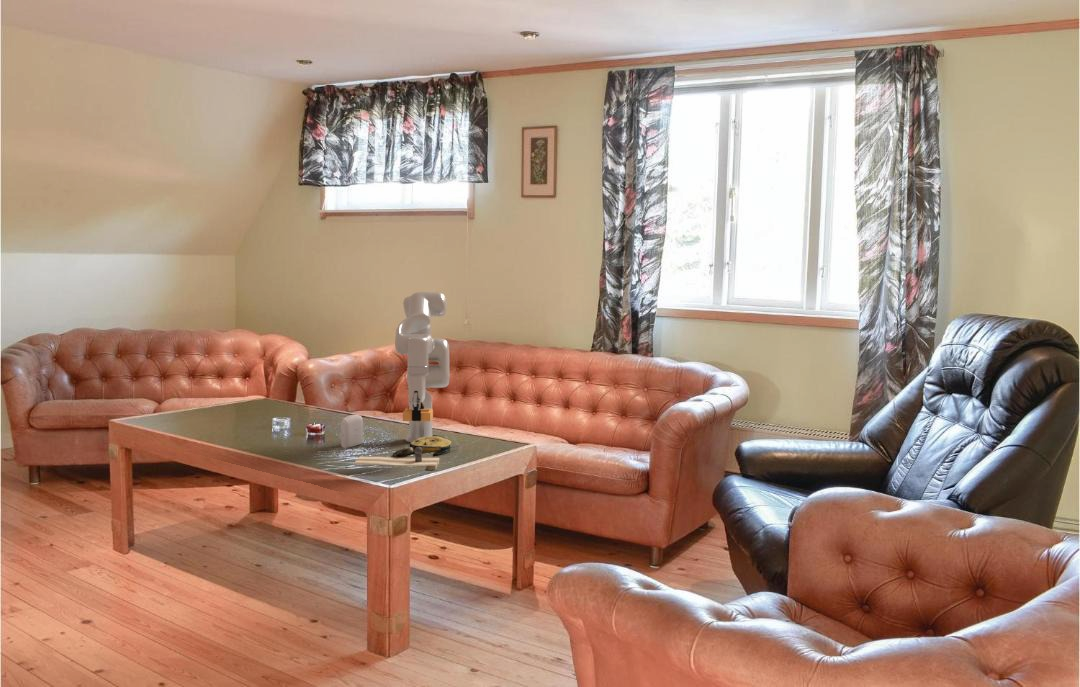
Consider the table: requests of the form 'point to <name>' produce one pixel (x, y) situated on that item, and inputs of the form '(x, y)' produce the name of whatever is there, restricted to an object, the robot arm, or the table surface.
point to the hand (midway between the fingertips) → (418, 418)
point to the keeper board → (401, 460)
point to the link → (425, 414)
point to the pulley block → (427, 446)
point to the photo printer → (351, 431)
